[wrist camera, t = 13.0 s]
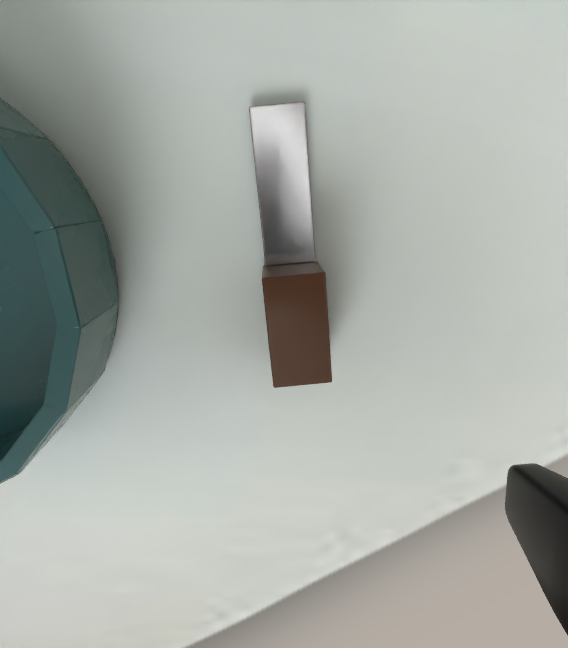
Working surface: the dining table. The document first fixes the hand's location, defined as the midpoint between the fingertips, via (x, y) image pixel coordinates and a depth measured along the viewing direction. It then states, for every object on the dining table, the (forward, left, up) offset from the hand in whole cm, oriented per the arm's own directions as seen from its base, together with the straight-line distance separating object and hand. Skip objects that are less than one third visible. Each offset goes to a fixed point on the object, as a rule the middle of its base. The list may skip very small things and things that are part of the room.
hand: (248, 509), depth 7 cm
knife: (-3, +1, -9) cm, 10 cm away
